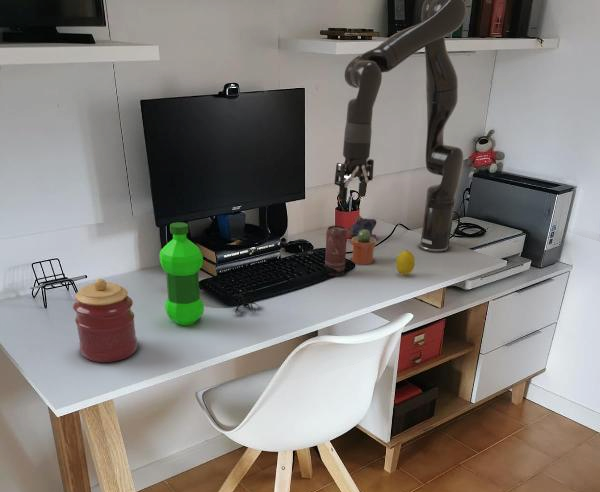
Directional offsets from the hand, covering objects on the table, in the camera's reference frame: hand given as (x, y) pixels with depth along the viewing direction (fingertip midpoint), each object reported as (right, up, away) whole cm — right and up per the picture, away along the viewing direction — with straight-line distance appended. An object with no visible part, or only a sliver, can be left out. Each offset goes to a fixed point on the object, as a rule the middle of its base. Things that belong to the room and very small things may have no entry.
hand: (352, 198), depth 192 cm
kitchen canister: (-60, -48, -38) cm, 86 cm away
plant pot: (+5, -14, +19) cm, 25 cm away
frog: (+7, -3, +39) cm, 39 cm away
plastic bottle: (-45, -39, -23) cm, 64 cm away
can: (-5, -20, +9) cm, 23 cm away
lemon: (+16, -21, +9) cm, 28 cm away
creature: (-30, -35, -17) cm, 49 cm away
